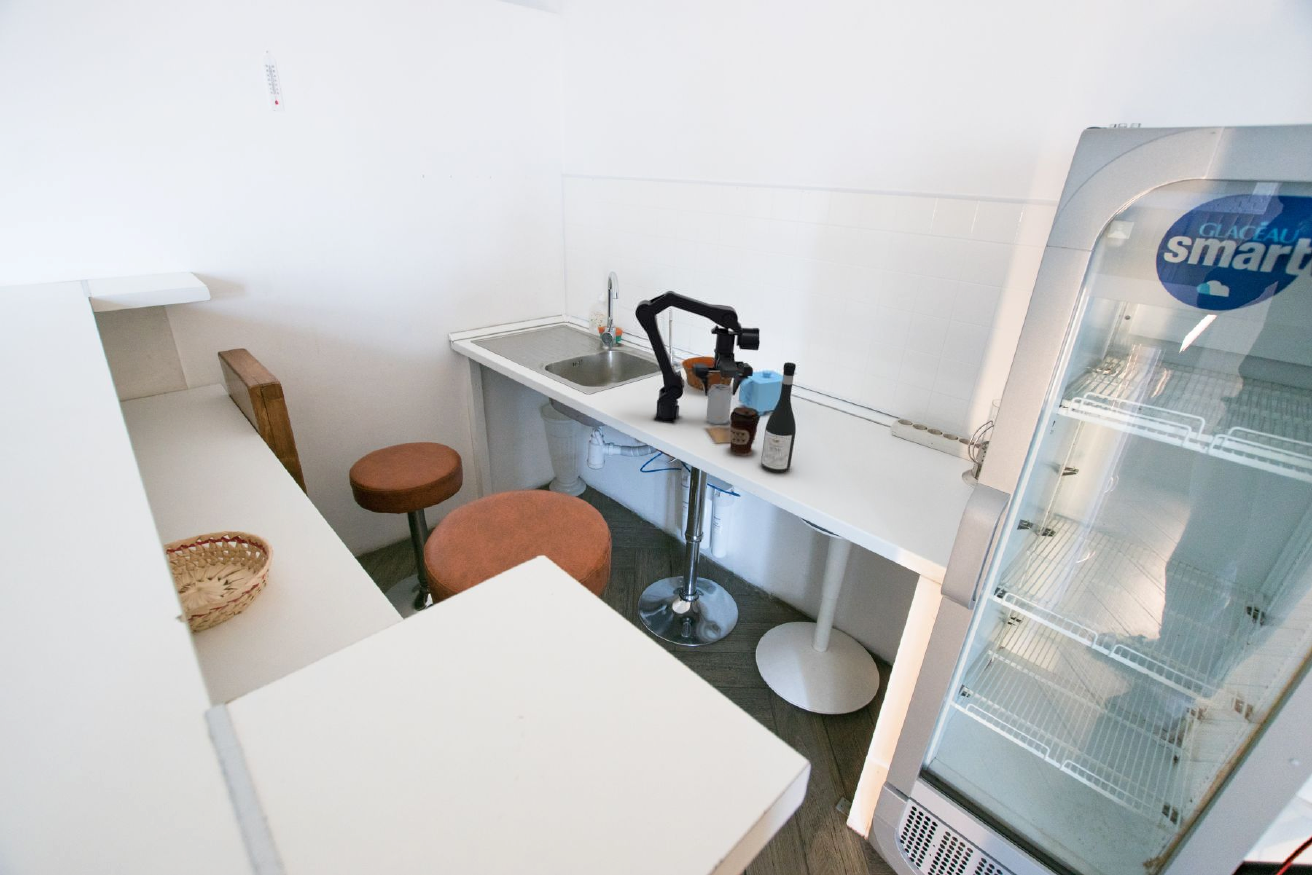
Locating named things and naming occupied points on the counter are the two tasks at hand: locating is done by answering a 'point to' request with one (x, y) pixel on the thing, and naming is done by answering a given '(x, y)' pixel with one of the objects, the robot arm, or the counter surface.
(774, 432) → the wine bottle
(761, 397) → the teapot
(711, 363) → the bowl
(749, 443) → the coffee cup
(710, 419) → the can
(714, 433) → the coaster
